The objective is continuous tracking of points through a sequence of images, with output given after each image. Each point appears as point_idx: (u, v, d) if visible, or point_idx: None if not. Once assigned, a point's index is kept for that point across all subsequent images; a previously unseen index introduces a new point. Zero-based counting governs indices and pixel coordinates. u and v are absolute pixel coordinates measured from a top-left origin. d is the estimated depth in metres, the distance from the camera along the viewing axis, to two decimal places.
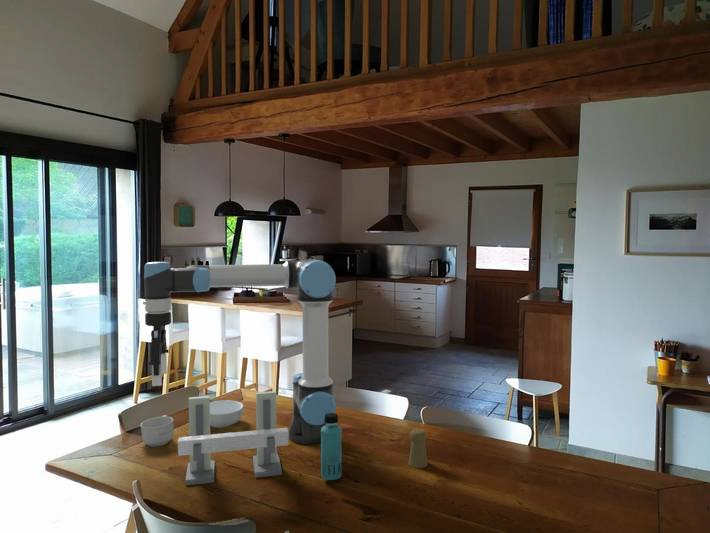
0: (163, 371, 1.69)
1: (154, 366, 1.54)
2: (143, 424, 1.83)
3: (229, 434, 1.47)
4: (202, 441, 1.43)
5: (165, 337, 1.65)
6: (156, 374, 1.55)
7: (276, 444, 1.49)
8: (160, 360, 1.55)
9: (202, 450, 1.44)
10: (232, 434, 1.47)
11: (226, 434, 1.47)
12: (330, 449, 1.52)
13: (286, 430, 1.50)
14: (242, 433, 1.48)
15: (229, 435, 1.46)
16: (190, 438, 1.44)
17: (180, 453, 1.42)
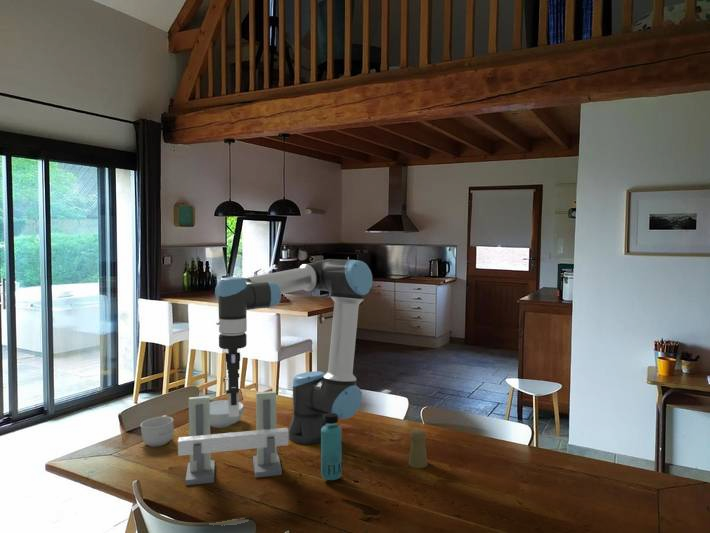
0: None
1: (232, 395, 1.38)
2: (143, 424, 1.83)
3: (229, 434, 1.47)
4: (202, 441, 1.43)
5: None
6: (234, 404, 1.38)
7: (276, 444, 1.49)
8: None
9: (202, 450, 1.44)
10: (232, 434, 1.47)
11: (226, 434, 1.47)
12: (330, 449, 1.52)
13: (286, 430, 1.50)
14: (242, 433, 1.48)
15: (229, 435, 1.46)
16: (190, 438, 1.44)
17: (180, 453, 1.42)
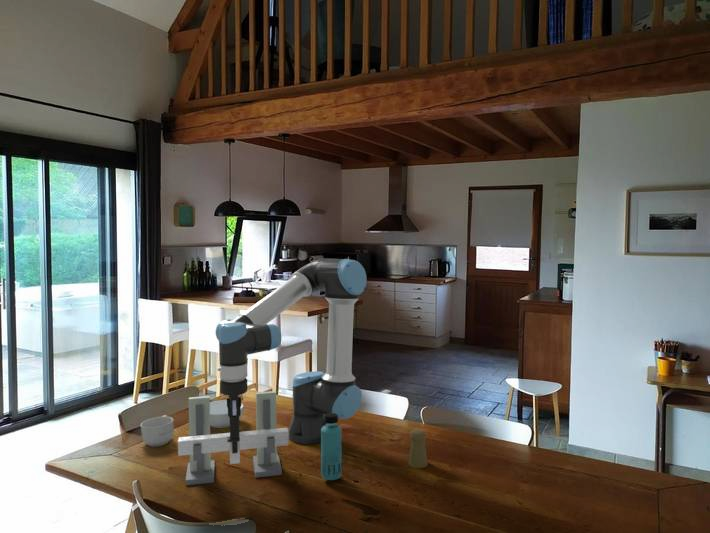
0: None
1: (233, 443, 1.44)
2: (143, 424, 1.83)
3: (229, 434, 1.47)
4: (202, 441, 1.43)
5: None
6: (235, 452, 1.44)
7: (276, 444, 1.49)
8: None
9: (202, 450, 1.44)
10: None
11: (226, 434, 1.47)
12: (330, 449, 1.52)
13: (286, 430, 1.50)
14: (242, 433, 1.48)
15: (229, 435, 1.46)
16: (190, 438, 1.44)
17: (180, 453, 1.42)
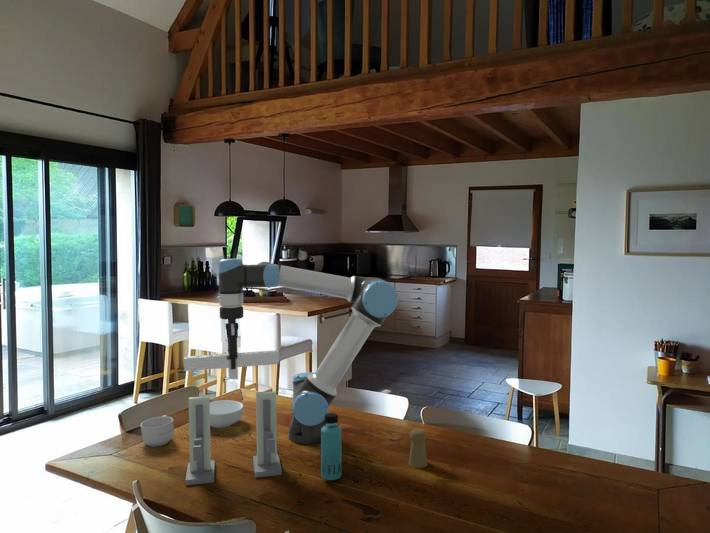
0: None
1: (231, 360, 1.68)
2: (143, 424, 1.83)
3: (228, 354, 1.71)
4: (205, 359, 1.68)
5: None
6: (233, 368, 1.68)
7: (268, 363, 1.73)
8: None
9: (205, 367, 1.68)
10: None
11: (225, 354, 1.71)
12: (330, 449, 1.52)
13: (277, 351, 1.75)
14: (239, 353, 1.72)
15: (228, 355, 1.70)
16: (194, 357, 1.68)
17: (186, 369, 1.66)
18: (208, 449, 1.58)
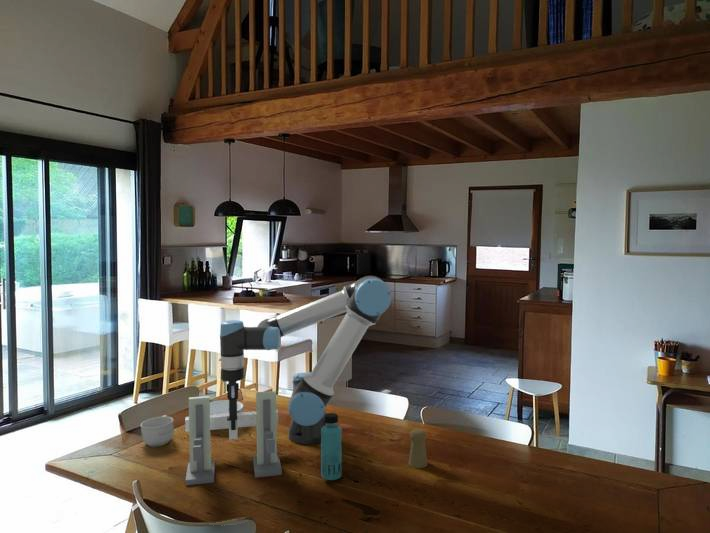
0: None
1: (232, 422, 1.71)
2: (143, 424, 1.83)
3: (228, 414, 1.74)
4: None
5: None
6: (233, 429, 1.71)
7: None
8: None
9: None
10: None
11: (225, 414, 1.74)
12: (330, 449, 1.52)
13: (276, 411, 1.77)
14: (239, 413, 1.75)
15: (228, 415, 1.73)
16: None
17: (187, 430, 1.70)
18: (208, 449, 1.58)
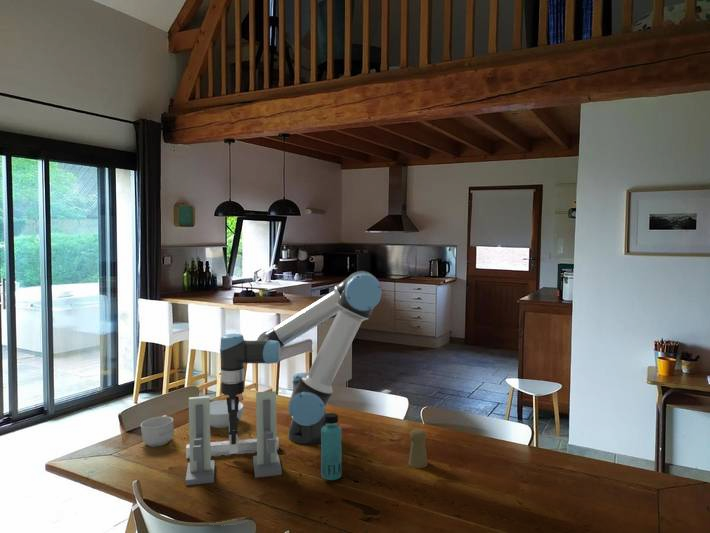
0: None
1: (232, 436, 1.68)
2: (143, 424, 1.83)
3: None
4: None
5: None
6: (233, 443, 1.69)
7: None
8: None
9: None
10: None
11: (226, 442, 1.75)
12: (330, 449, 1.52)
13: (277, 439, 1.77)
14: (239, 441, 1.75)
15: (228, 443, 1.74)
16: None
17: (187, 457, 1.71)
18: (208, 449, 1.58)
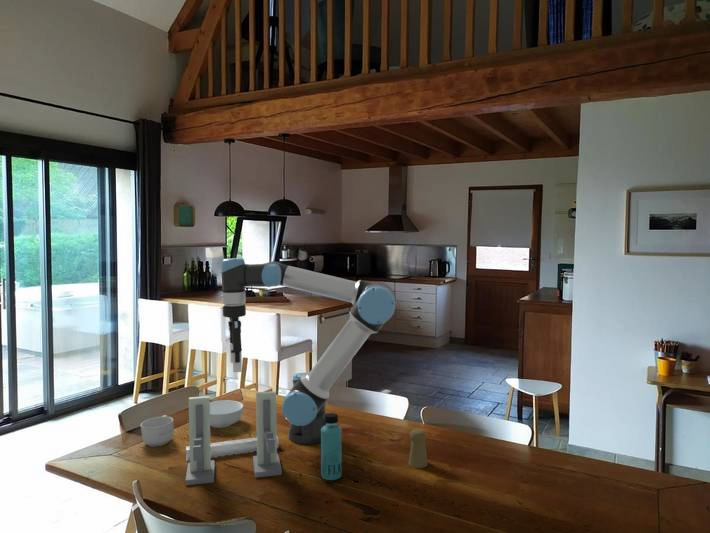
0: None
1: (236, 354, 1.68)
2: (143, 424, 1.83)
3: (228, 442, 1.75)
4: None
5: None
6: (237, 361, 1.68)
7: None
8: None
9: None
10: (231, 442, 1.75)
11: (226, 442, 1.75)
12: (330, 449, 1.52)
13: None
14: (239, 441, 1.76)
15: (229, 443, 1.74)
16: None
17: (188, 460, 1.69)
18: (208, 449, 1.58)
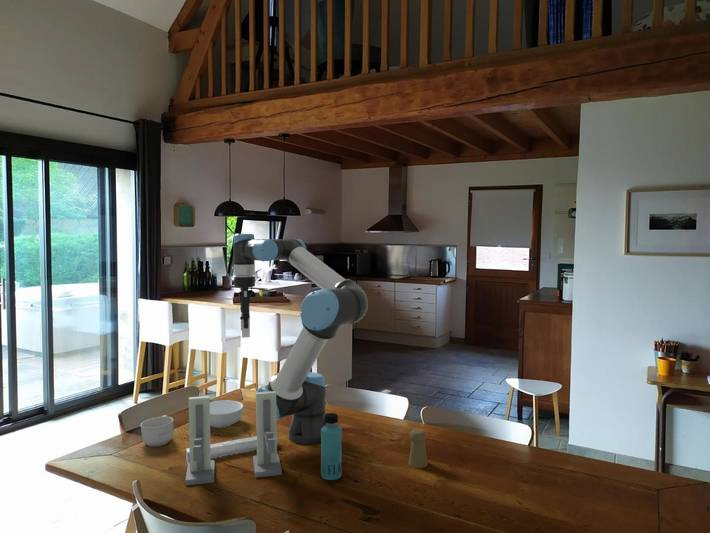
0: None
1: (244, 320, 1.83)
2: (143, 424, 1.83)
3: (228, 442, 1.75)
4: None
5: None
6: (246, 327, 1.83)
7: None
8: None
9: None
10: (231, 442, 1.75)
11: (226, 442, 1.74)
12: (330, 449, 1.52)
13: None
14: (239, 440, 1.76)
15: (229, 443, 1.74)
16: None
17: (189, 462, 1.67)
18: (208, 449, 1.58)
